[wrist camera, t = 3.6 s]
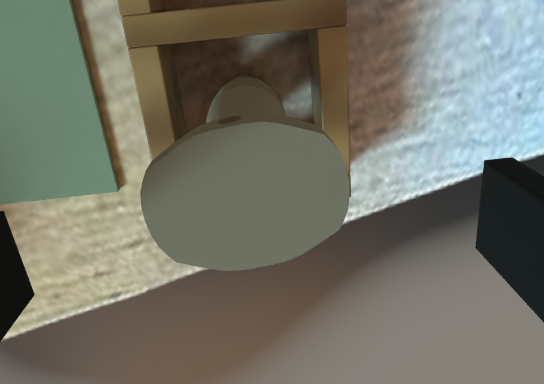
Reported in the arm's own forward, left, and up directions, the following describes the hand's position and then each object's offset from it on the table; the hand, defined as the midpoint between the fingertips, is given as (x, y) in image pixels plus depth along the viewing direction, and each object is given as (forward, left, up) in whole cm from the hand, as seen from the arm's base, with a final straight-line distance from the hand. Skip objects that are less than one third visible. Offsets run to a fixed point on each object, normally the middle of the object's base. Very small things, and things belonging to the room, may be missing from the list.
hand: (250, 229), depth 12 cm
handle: (0, 0, -17) cm, 17 cm away
